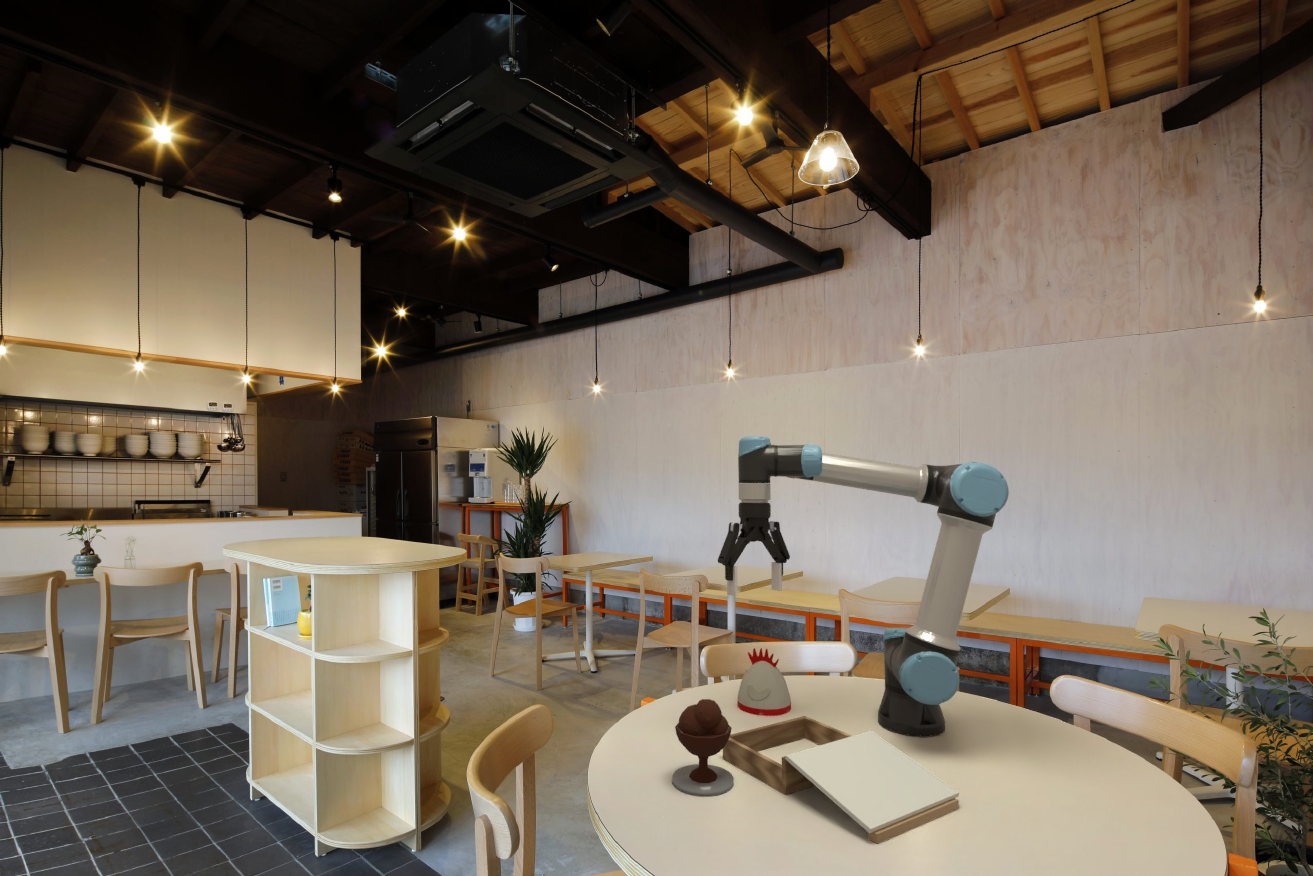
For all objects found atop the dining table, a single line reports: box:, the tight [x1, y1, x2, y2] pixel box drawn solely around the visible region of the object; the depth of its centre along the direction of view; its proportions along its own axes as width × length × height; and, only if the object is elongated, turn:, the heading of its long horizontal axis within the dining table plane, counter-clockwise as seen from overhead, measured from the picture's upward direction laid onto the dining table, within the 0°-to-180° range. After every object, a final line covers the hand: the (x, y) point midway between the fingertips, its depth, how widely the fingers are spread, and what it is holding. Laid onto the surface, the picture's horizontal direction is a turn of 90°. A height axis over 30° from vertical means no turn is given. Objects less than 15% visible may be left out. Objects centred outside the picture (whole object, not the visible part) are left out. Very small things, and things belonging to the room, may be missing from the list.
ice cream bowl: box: [674, 698, 733, 783], centre depth 126 cm, size 11×11×15 cm
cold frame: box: [722, 715, 853, 796], centre depth 135 cm, size 19×24×6 cm
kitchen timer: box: [737, 647, 792, 717], centre depth 169 cm, size 14×14×15 cm
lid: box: [785, 730, 960, 845], centre depth 118 cm, size 20×24×7 cm
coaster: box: [671, 763, 735, 797], centre depth 125 cm, size 12×12×1 cm
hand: (755, 592), depth 151 cm, fingers open, 13 cm apart
